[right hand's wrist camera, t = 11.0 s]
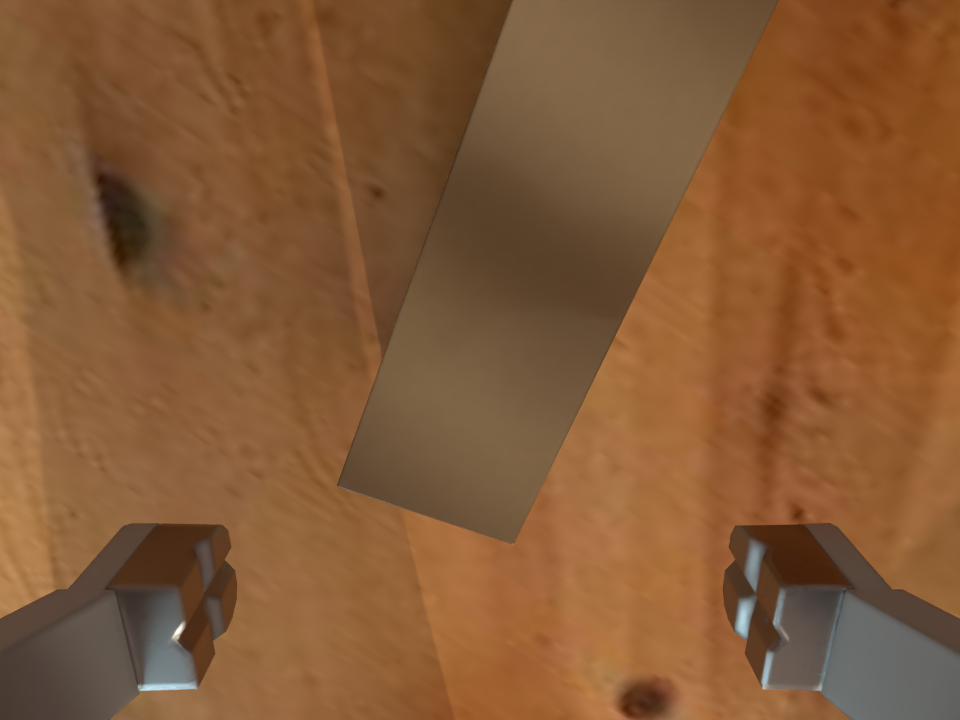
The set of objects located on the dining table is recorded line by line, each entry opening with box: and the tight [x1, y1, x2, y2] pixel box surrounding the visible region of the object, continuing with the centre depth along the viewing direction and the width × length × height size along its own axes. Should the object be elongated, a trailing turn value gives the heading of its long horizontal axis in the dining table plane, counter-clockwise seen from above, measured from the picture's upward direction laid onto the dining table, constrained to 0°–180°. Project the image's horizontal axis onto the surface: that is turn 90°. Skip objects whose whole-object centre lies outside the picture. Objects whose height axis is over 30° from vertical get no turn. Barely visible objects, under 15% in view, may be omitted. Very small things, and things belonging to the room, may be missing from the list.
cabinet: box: [337, 0, 779, 544], centre depth 21 cm, size 18×6×10 cm, turn 159°
